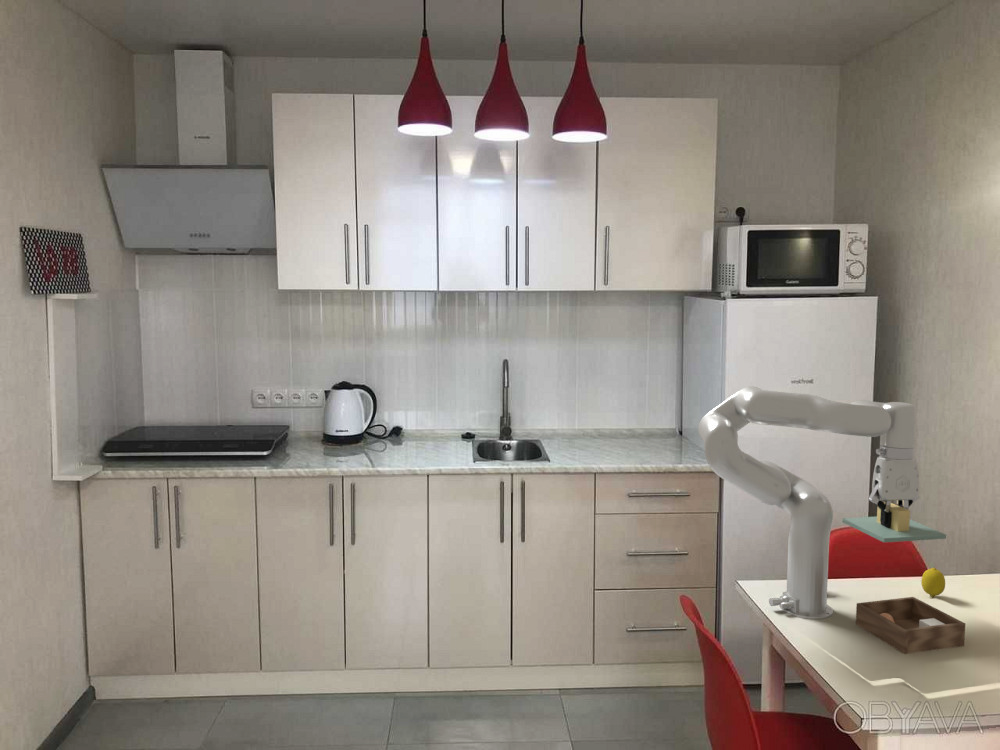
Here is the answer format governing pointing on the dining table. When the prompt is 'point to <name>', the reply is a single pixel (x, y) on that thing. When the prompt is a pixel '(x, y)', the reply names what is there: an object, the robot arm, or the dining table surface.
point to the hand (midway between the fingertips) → (892, 525)
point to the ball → (888, 616)
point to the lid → (894, 527)
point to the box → (910, 625)
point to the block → (929, 622)
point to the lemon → (933, 582)
